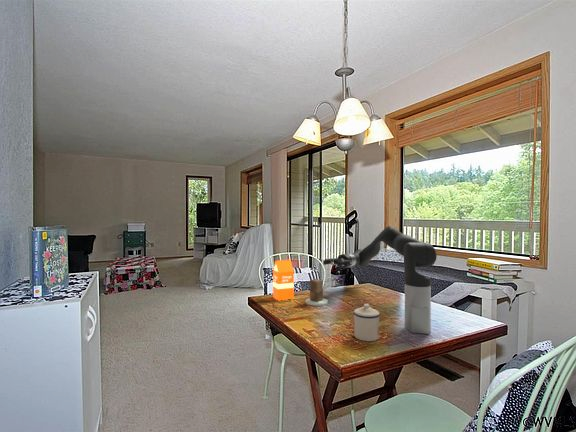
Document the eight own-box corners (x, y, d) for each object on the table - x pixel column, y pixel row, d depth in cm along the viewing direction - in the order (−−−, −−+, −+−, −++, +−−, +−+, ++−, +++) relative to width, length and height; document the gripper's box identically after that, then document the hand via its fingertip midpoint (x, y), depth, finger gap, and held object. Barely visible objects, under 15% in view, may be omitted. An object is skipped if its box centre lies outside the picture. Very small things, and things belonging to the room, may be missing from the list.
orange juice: (293, 299, 163) (293, 260, 163) (278, 301, 159) (277, 261, 159) (288, 295, 170) (288, 258, 170) (272, 297, 167) (272, 259, 166)
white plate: (326, 306, 150) (326, 304, 150) (303, 305, 152) (303, 302, 152) (328, 300, 160) (328, 297, 160) (307, 299, 163) (307, 296, 163)
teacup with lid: (384, 340, 110) (384, 307, 109) (360, 343, 108) (360, 309, 108) (369, 328, 121) (368, 298, 121) (346, 330, 120) (346, 299, 119)
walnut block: (322, 300, 156) (322, 280, 156) (317, 302, 153) (317, 281, 153) (315, 298, 159) (315, 278, 159) (310, 300, 156) (310, 280, 156)
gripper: (335, 253, 180) (319, 255, 168) (358, 254, 171) (342, 257, 159) (335, 266, 180) (319, 269, 168) (358, 268, 171) (342, 272, 159)
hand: (330, 263), depth 163 cm, fingers open, 8 cm apart
